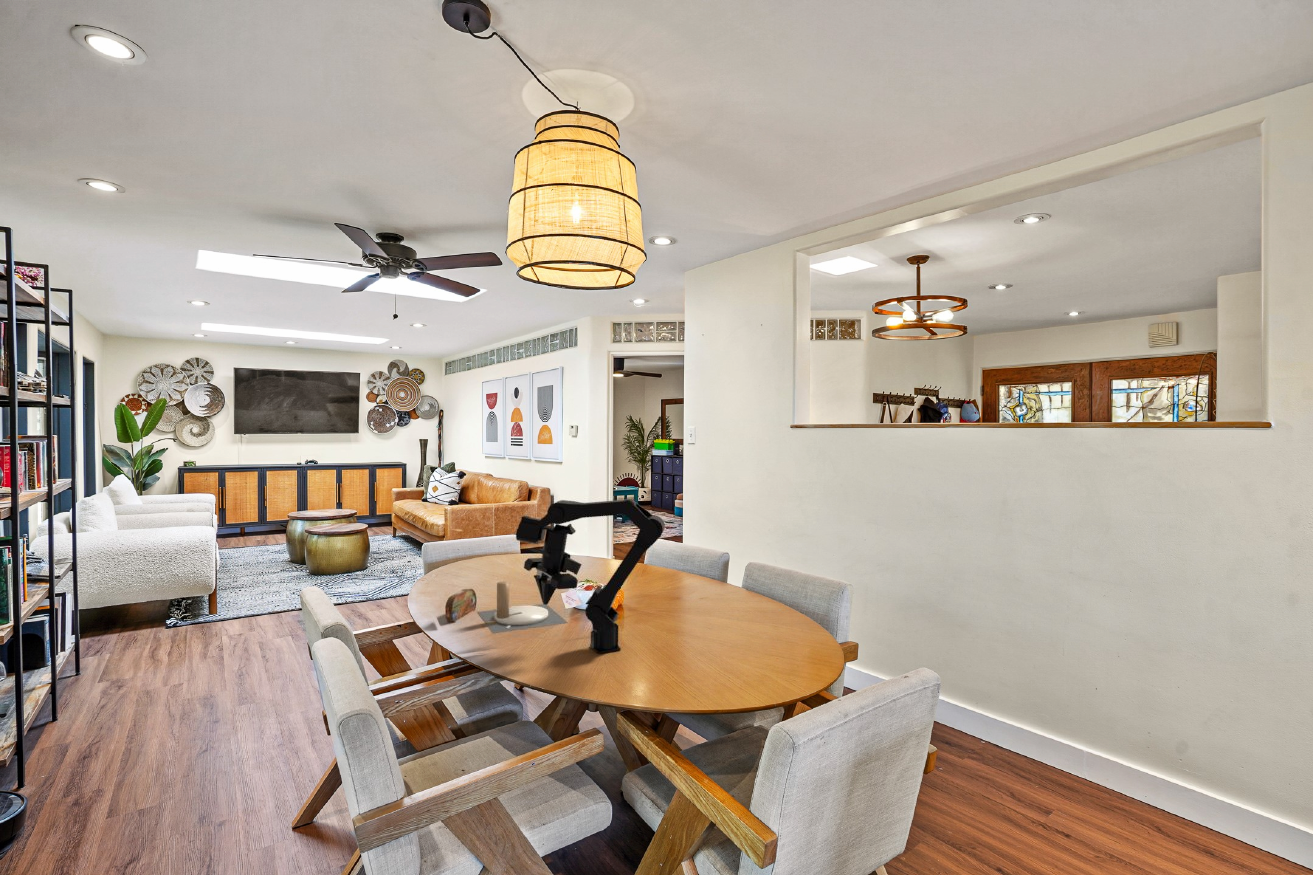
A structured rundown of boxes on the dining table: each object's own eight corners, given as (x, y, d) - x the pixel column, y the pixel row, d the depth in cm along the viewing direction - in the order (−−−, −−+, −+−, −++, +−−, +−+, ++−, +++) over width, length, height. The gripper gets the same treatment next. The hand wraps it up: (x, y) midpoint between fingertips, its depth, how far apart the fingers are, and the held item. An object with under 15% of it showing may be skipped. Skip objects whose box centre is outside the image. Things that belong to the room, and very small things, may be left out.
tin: (452, 627, 185) (453, 598, 185) (443, 626, 186) (443, 597, 185) (477, 612, 200) (477, 585, 200) (468, 611, 200) (468, 585, 200)
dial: (556, 611, 198) (556, 575, 197) (534, 627, 182) (534, 588, 182) (509, 607, 201) (509, 572, 201) (484, 622, 186) (484, 584, 186)
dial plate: (545, 606, 207) (545, 602, 206) (568, 626, 187) (568, 622, 187) (477, 615, 197) (477, 611, 196) (492, 636, 177) (492, 632, 177)
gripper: (598, 556, 168) (589, 613, 169) (561, 537, 182) (553, 590, 183) (563, 557, 161) (553, 617, 161) (527, 538, 175) (518, 593, 176)
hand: (545, 604), depth 170 cm, fingers closed
